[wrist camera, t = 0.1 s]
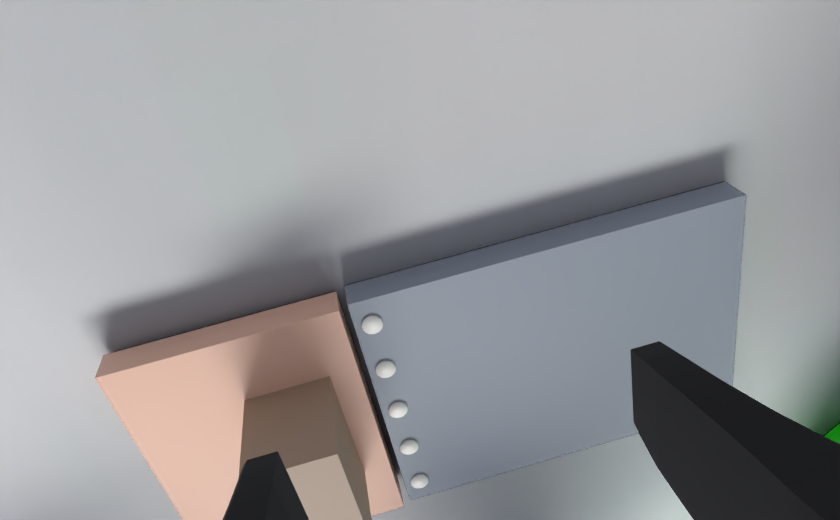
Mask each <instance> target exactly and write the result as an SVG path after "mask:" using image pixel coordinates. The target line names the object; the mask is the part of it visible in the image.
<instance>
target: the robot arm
mask: <svg viewBox="0 0 840 520" xmlns="http://www.w3.org/2000/svg"><path fill="white" fill-rule="evenodd" d="M630 351H631V375H632V398H633V421H634V424H635V426H636V428H637V430H638V432H639V434H640V436H641V438H642V440H643V442H644V443H645V445H646V447H647V449H648V451H649V453H650V455H651V456H652V458H653V460H654V462H655V464H656V466H657V467H658V469H659V470H660V472H661V473H662V475H663V476H664V478H665V479H666V481H667V482H668V483H669V485H670V486H671V488H672V489H673V491H674V492H675V494H676V495H677V496H678V498H679V499H680V501H681V502H682V504H683V505H684V506H685V508H686V509H687V511H688V512H689V514H690V515H691V516H692V518H693V519H694V520H840V444H839V443H837V442H834V441H832V440H830V439H828V438H826V437H824V436H822V435H820V434H818V433H816V432H814V431H812V430H810V429H808V428H806V427H804V426H802V425H800V424H798V423H796V422H794V421H793V420H791V419H789V418H787V417H785V416H783V415H781V414H779V413H777V412H776V411H774V410H772V409H770V408H768V407H767V406H765V405H763V404H761V403H760V402H758V401H756V400H755V399H753V398H751V397H749V396H748V395H746V394H744V393H742V392H741V391H739V390H737V389H736V388H734V387H732V386H731V385H729V384H727V383H726V382H724V381H722V380H721V379H719V378H718V377H716V376H714V375H713V374H711V373H710V372H708V371H706V370H705V369H703V368H701V367H700V366H698V365H697V364H695V363H694V362H692V361H690V360H689V359H687V358H686V357H684V356H682V355H681V354H679V353H678V352H676V351H675V350H673V349H671V348H670V347H668V346H666V345H665V344H663V343H662V342H660V341H658V342H655V343H651V344H648V345H644V346H641V347H637V348H634V349H630ZM223 520H309V518H308V516H307V514H306V512H305V510H304V507H303V505H302V503H301V501H300V499H299V496H298V494H297V492H296V490H295V488H294V486H293V483H292V481H291V479H290V477H289V475H288V472H287V470H286V468H285V466H284V464H283V462H282V459H281V457H280V455H279V453H278V451H276V452H273V453H270V454H266V455H263V456H259V457H256V458H252V459H249V460H247V461H246V462H245V464H244V465H243V468H242V470H241V473H240V476H239V479H238V481H237V484H236V487H235V489H234V492H233V495H232V497H231V500H230V502H229V505H228V507H227V510H226V512H225V515H224V517H223Z"/></svg>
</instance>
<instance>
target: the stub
mask: <svg viewBox="0 0 840 520" xmlns="http://www.w3.org/2000/svg"><path fill="white" fill-rule="evenodd" d="M95 379H96V381H97V383H98V384H99V386H100V387H101V389H102V391H103V392H104V394H105V395H106V397H107V399H108V400H109V402H110V404H111V405H112V407H113V408H114V410H115V412H116V413H117V415H118V416H119V418H120V420H121V421H122V423H123V424H124V426H125V428H126V429H127V431H128V433H129V434H130V436H131V437H132V439H133V441H134V442H135V444H136V445H137V447H138V449H139V450H140V452H141V453H142V455H143V457H144V458H145V460H146V462H147V463H148V465H149V466H150V468H151V470H152V471H153V473H154V474H155V476H156V478H157V479H158V481H159V482H160V484H161V486H162V487H163V489H164V491H165V492H166V494H167V495H168V497H169V499H170V500H171V502H172V503H173V505H174V507H175V508H176V510H177V511H178V513H179V515H180V516H181V518H182V520H223V517H224V515H225V512H226V510H227V507H228V505H229V502H230V500H231V497H232V495H233V492H234V489H235V487H236V484H237V481H238V479H239V476H240V473H241V470H242V468H243V465H244V464H245V462H246V461H247V460H249V459H252V458H256V457H259V456H263V455H266V454H270V453H273V452H276V451H278V453H279V455H280V457H281V459H282V462H283V464H284V466H285V468H286V470H287V472H288V475H289V477H290V479H291V481H292V483H293V486H294V488H295V490H296V492H297V494H298V496H299V499H300V501H301V503H302V505H303V507H304V510H305V512H306V514H307V516H308V518H309V520H372V519H371V516H373V515H377V514H380V513H384V512H387V511H390V510H394V509H397V508H401V507H404V505H403V500H402V495H401V490H400V485H399V481H398V478H397V475H396V472H395V469H394V466H393V463H392V460H391V457H390V454H389V451H388V448H387V445H386V442H385V439H384V436H383V433H382V430H381V426H380V423H379V420H378V417H377V414H376V411H375V408H374V405H373V402H372V399H371V396H370V393H369V390H368V387H367V384H366V381H365V378H364V375H363V372H362V369H361V366H360V362H359V359H358V356H357V353H356V350H355V347H354V344H353V341H352V338H351V335H350V332H349V329H348V326H347V323H346V320H345V317H344V314H343V311H342V308H341V305H340V302H339V298H338V295H337V292H332V293H329V294H325V295H321V296H318V297H314V298H310V299H307V300H303V301H299V302H296V303H292V304H289V305H285V306H281V307H278V308H274V309H270V310H267V311H263V312H259V313H256V314H252V315H248V316H245V317H241V318H237V319H234V320H230V321H227V322H223V323H219V324H216V325H212V326H208V327H205V328H201V329H197V330H194V331H190V332H186V333H183V334H179V335H176V336H172V337H168V338H165V339H161V340H157V341H154V342H150V343H146V344H143V345H139V346H135V347H132V348H128V349H124V350H121V351H117V352H114V353H110V354H106V355H104V356H103V358H102V361H101V364H100V366H99V369H98V371H97V374H96V377H95Z"/></svg>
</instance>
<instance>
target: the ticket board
mask: <svg viewBox="0 0 840 520" xmlns="http://www.w3.org/2000/svg"><path fill="white" fill-rule="evenodd" d="M745 205H746V195H745V194H744V193H742V192H741V191H739V190H738V189H736V188H735V187H733V186H732V185H730V184H729V183H727V182H722V183H718V184H715V185H711V186H707V187H704V188H700V189H696V190H693V191H689V192H685V193H682V194H678V195H675V196H671V197H667V198H664V199H660V200H656V201H653V202H649V203H645V204H642V205H638V206H634V207H631V208H627V209H623V210H620V211H616V212H613V213H609V214H605V215H602V216H598V217H594V218H591V219H587V220H583V221H580V222H576V223H572V224H569V225H565V226H561V227H558V228H554V229H550V230H547V231H543V232H540V233H536V234H532V235H529V236H525V237H521V238H518V239H514V240H510V241H507V242H503V243H499V244H496V245H492V246H488V247H485V248H481V249H478V250H474V251H470V252H467V253H463V254H459V255H456V256H452V257H448V258H445V259H441V260H437V261H434V262H430V263H426V264H423V265H419V266H415V267H412V268H408V269H405V270H401V271H397V272H394V273H390V274H386V275H383V276H379V277H375V278H372V279H368V280H364V281H361V282H357V283H353V284H350V285H346V286H344V288H345V294H346V300H347V306H348V309H349V312H350V315H351V318H352V321H353V325H354V328H355V331H356V334H357V337H358V340H359V343H360V346H361V349H362V353H363V356H364V359H365V362H366V365H367V368H368V371H369V374H370V377H371V381H372V384H373V387H374V390H375V393H376V396H377V399H378V402H379V405H380V409H381V412H382V415H383V418H384V421H385V424H386V427H387V430H388V433H389V437H390V440H391V443H392V446H393V449H394V452H395V455H396V458H397V461H398V465H399V468H400V471H401V474H402V477H403V480H404V483H405V486H406V489H407V493H408V496H409V499H410V500H413V499H417V498H420V497H424V496H427V495H430V494H434V493H437V492H440V491H444V490H447V489H451V488H454V487H457V486H461V485H464V484H468V483H471V482H474V481H478V480H481V479H485V478H488V477H491V476H495V475H498V474H501V473H505V472H508V471H512V470H515V469H518V468H522V467H525V466H529V465H532V464H535V463H539V462H542V461H546V460H549V459H552V458H556V457H559V456H562V455H566V454H569V453H573V452H576V451H579V450H583V449H586V448H590V447H593V446H596V445H600V444H603V443H607V442H610V441H613V440H617V439H620V438H623V437H627V436H630V435H634V434H637V433H639V432H638V430H637V428H636V426H635V424H634V421H633V398H632V375H631V351H630V349H634V348H637V347H641V346H644V345H648V344H651V343H655V342H658V341H660V342H662V343H663V344H665V345H666V346H668V347H670V348H671V349H673V350H675V351H676V352H678V353H679V354H681V355H682V356H684V357H686V358H687V359H689V360H690V361H692V362H694V363H695V364H697V365H698V366H700V367H701V368H703V369H705V370H706V371H708V372H710V373H711V374H713V375H714V376H716V377H718V378H719V379H721V380H722V381H724V382H726V383H727V384H729V385H731V386H732V387H733V373H734V359H735V345H736V331H737V317H738V303H739V289H740V275H741V261H742V247H743V233H744V219H745Z"/></svg>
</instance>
